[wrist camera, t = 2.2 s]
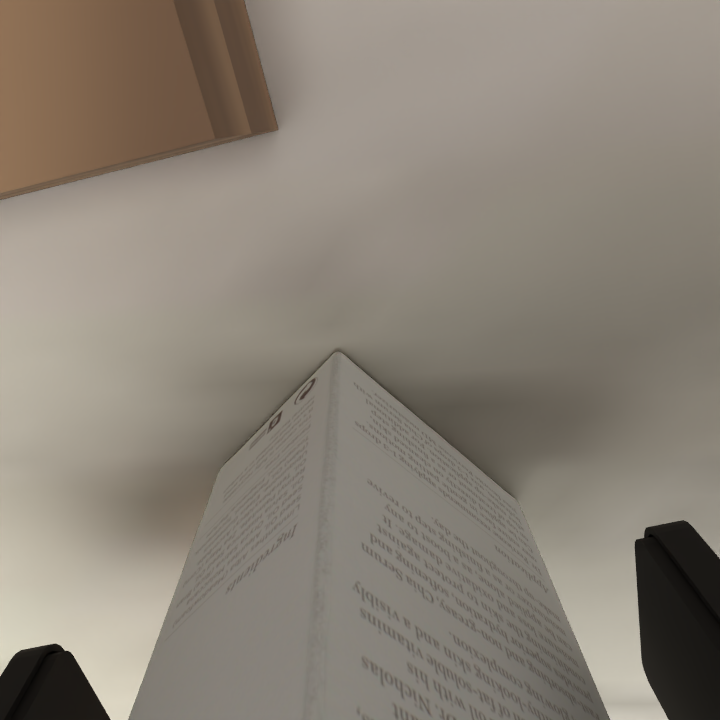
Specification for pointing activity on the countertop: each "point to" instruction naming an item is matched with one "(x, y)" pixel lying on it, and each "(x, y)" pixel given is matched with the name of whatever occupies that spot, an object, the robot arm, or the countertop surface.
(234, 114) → the brown wooden square frame
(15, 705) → the robot arm
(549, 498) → the countertop surface
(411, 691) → the skincare box
